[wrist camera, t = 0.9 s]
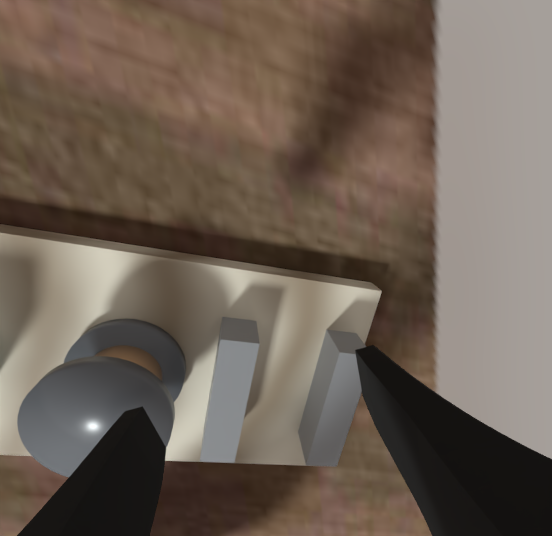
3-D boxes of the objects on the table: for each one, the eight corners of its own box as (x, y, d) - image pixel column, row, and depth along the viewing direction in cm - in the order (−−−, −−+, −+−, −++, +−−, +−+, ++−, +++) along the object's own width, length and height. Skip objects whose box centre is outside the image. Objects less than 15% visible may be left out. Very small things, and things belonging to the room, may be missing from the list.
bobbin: (69, 408, 18) (19, 479, 14) (70, 311, 16) (14, 360, 12) (179, 415, 19) (164, 482, 15) (192, 325, 17) (179, 374, 13)
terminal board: (-74, 430, 19) (-99, 451, 17) (-107, 206, 15) (-143, 210, 14) (319, 448, 24) (325, 466, 22) (371, 282, 20) (381, 291, 18)
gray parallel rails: (203, 426, 20) (199, 461, 17) (222, 316, 17) (220, 339, 15) (325, 433, 21) (336, 466, 19) (356, 333, 19) (373, 356, 17)
